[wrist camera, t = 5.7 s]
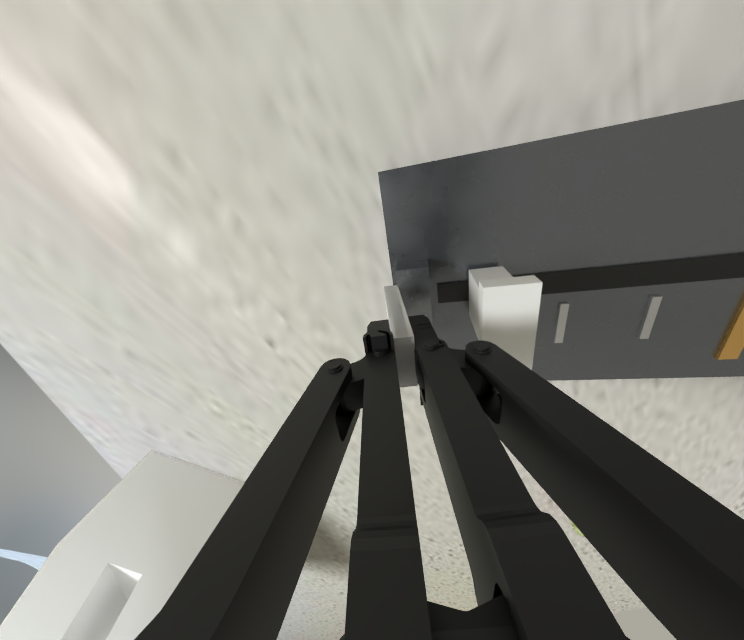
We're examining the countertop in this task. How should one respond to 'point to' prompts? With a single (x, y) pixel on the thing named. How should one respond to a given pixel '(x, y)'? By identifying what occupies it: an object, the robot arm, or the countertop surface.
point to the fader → (505, 310)
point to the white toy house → (124, 555)
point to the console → (589, 243)
